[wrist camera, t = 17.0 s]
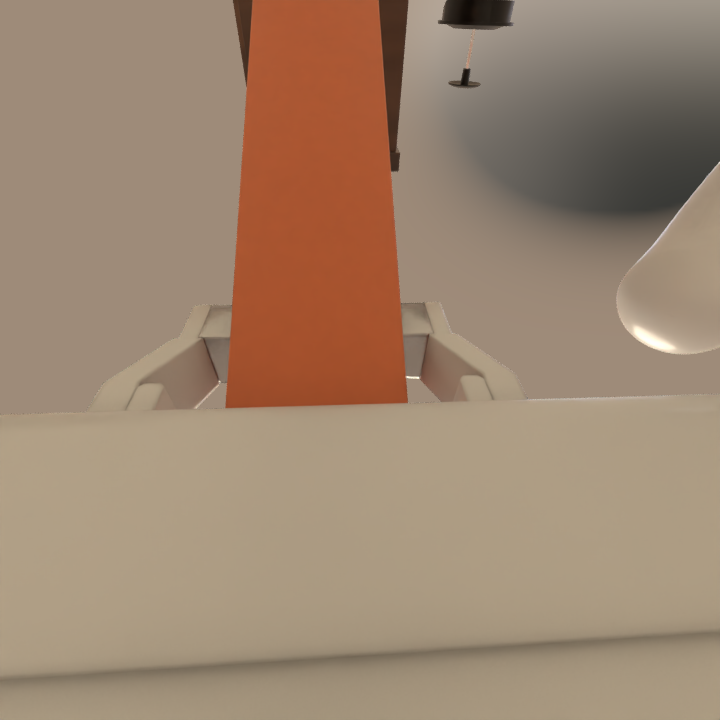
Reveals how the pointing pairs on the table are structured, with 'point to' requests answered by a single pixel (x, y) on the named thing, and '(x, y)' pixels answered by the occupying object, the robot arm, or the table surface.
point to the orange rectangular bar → (315, 215)
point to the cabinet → (393, 46)
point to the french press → (475, 23)
